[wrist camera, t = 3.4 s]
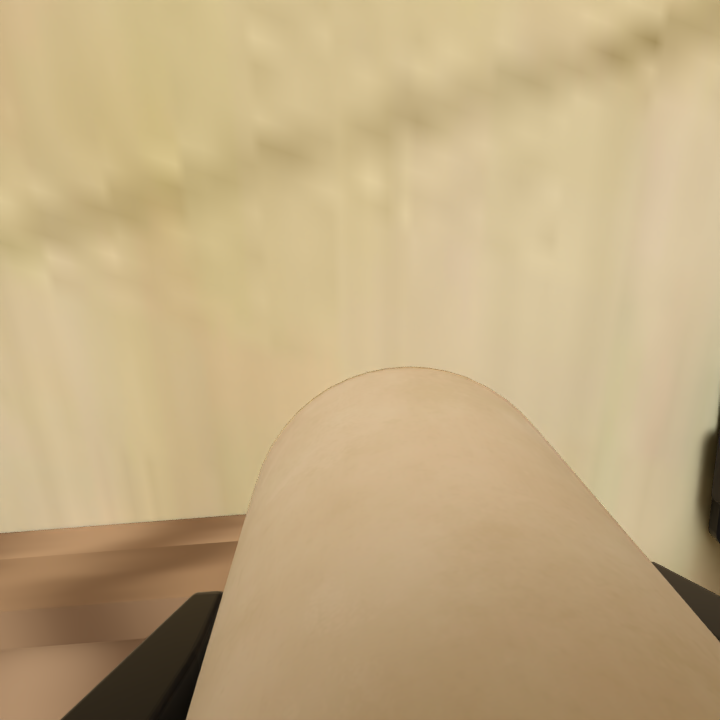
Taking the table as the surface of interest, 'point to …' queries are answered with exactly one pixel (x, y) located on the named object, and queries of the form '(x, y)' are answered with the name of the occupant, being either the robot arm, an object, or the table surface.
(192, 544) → the board
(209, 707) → the candle
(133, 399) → the table surface
